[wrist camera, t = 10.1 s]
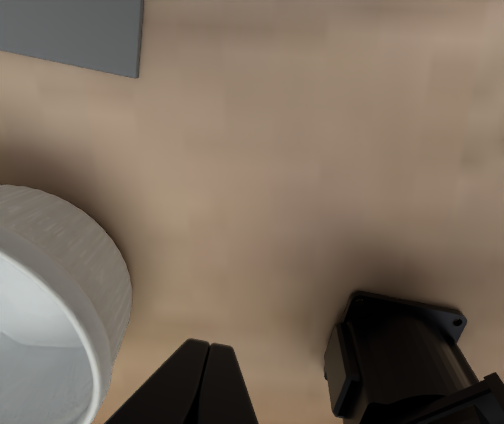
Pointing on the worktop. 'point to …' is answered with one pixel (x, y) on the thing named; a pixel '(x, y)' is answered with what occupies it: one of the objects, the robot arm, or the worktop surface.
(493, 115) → the worktop surface
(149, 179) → the worktop surface
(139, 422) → the robot arm
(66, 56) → the mat
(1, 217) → the ramekin
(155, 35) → the worktop surface
